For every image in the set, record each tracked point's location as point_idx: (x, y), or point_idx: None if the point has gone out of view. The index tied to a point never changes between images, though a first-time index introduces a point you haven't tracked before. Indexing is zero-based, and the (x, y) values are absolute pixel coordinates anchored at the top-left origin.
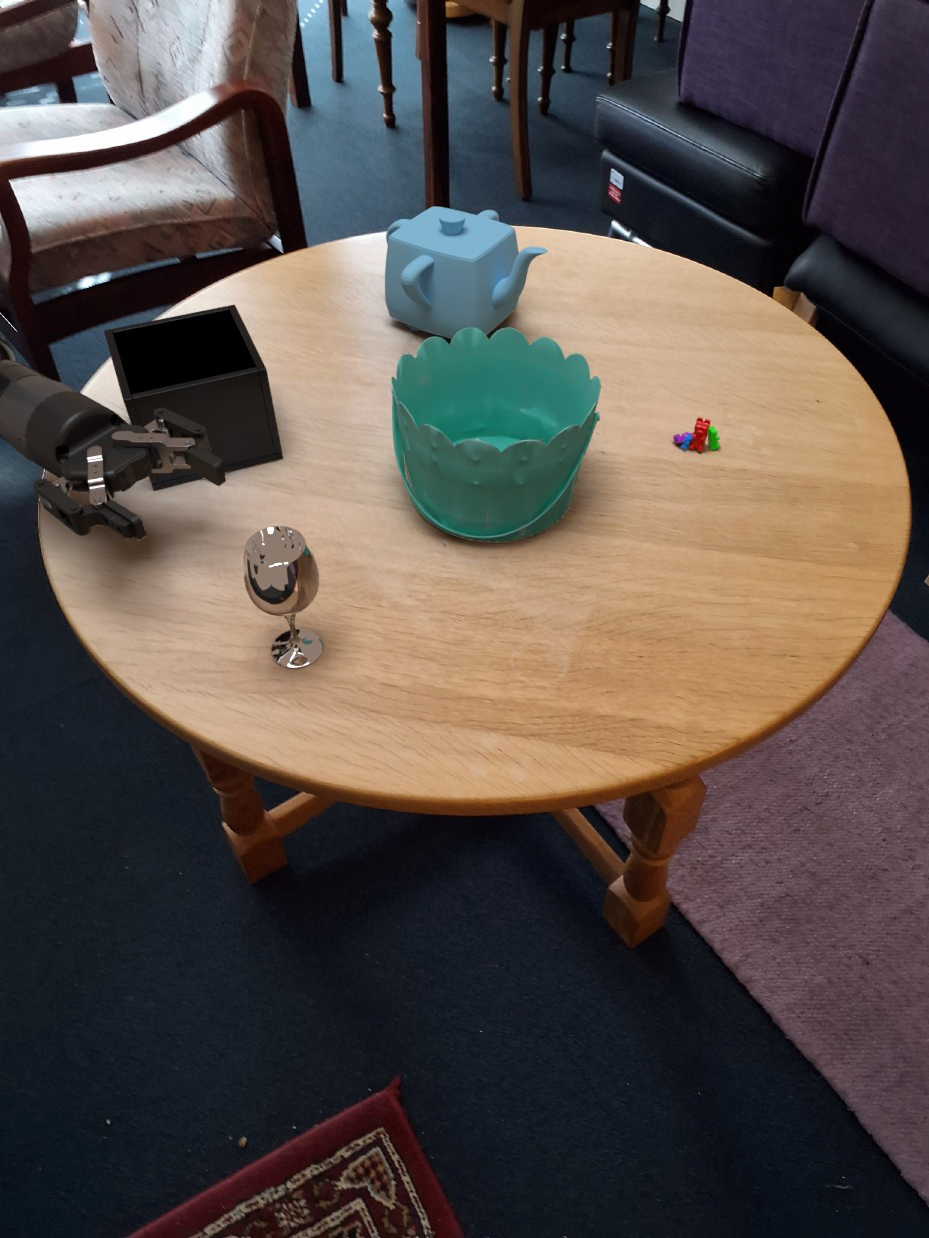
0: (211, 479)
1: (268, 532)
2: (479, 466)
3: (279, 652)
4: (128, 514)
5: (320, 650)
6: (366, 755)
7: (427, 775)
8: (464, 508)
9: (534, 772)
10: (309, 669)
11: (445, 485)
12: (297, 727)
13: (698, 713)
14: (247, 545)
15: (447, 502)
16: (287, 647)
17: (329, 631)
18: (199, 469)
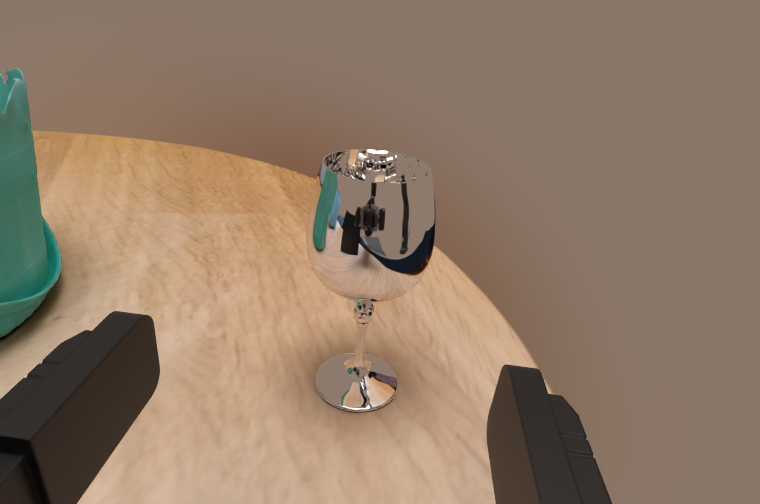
0: (134, 405)
1: (340, 191)
2: (28, 135)
3: (381, 389)
4: (531, 392)
5: (344, 354)
6: (436, 279)
7: None
8: (33, 239)
9: None
10: (378, 355)
11: (9, 216)
12: (459, 330)
13: (260, 173)
14: (396, 192)
15: (17, 251)
16: (371, 377)
17: (302, 364)
18: (94, 439)
